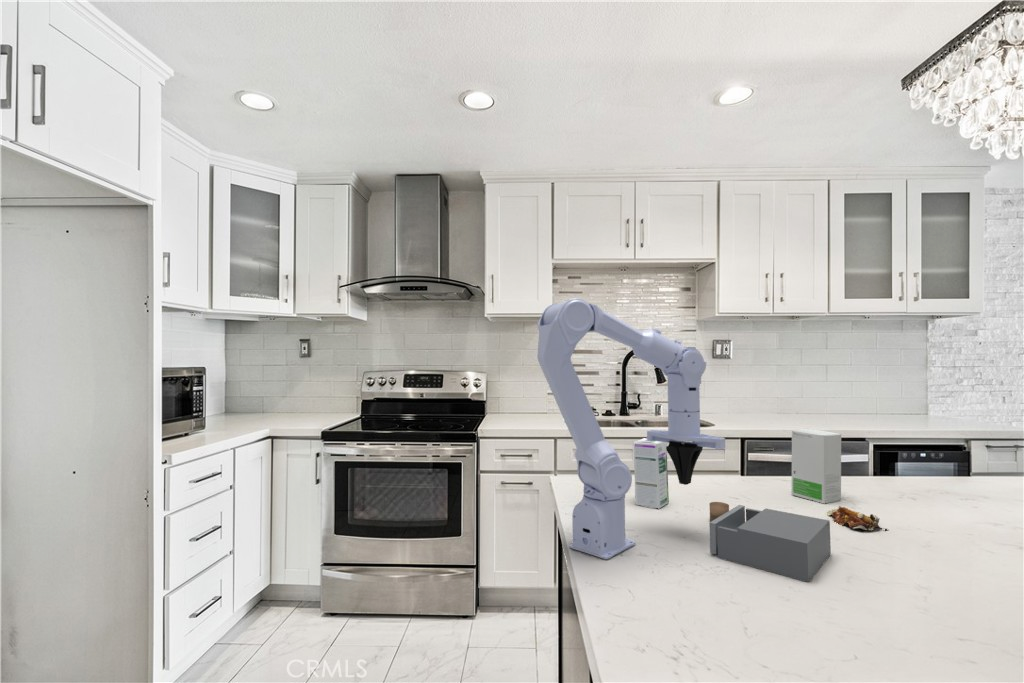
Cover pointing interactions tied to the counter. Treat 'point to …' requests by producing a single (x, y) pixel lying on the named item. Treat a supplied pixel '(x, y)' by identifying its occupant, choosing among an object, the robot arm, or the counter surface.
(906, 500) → the counter surface
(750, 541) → the housing
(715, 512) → the stand
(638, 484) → the syrup box
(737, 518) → the tray
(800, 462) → the skincare box
